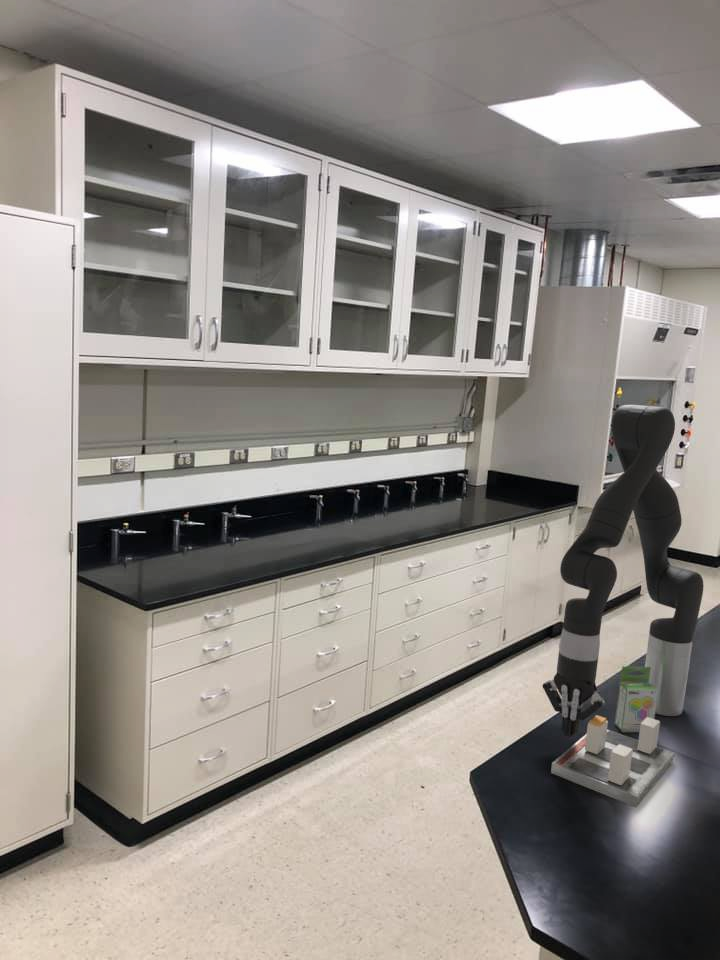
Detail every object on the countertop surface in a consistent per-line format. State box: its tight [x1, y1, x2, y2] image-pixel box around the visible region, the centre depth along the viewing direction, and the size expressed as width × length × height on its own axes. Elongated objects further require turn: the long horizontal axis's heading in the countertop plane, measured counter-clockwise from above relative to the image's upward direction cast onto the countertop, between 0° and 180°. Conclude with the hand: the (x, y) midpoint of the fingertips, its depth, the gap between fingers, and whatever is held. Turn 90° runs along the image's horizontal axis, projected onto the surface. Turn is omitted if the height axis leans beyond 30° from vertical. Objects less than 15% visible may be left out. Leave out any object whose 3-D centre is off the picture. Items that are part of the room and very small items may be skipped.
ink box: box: [614, 665, 658, 733], centre depth 164 cm, size 7×4×13 cm, turn 98°
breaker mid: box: [585, 714, 609, 754], centre depth 150 cm, size 4×2×6 cm, turn 142°
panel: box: [550, 729, 675, 808], centre depth 148 cm, size 22×16×2 cm
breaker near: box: [608, 744, 633, 785], centre depth 139 cm, size 4×2×6 cm, turn 142°
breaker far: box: [637, 717, 661, 754], centre depth 151 cm, size 4×2×6 cm, turn 142°
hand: (568, 734), depth 153 cm, fingers closed
